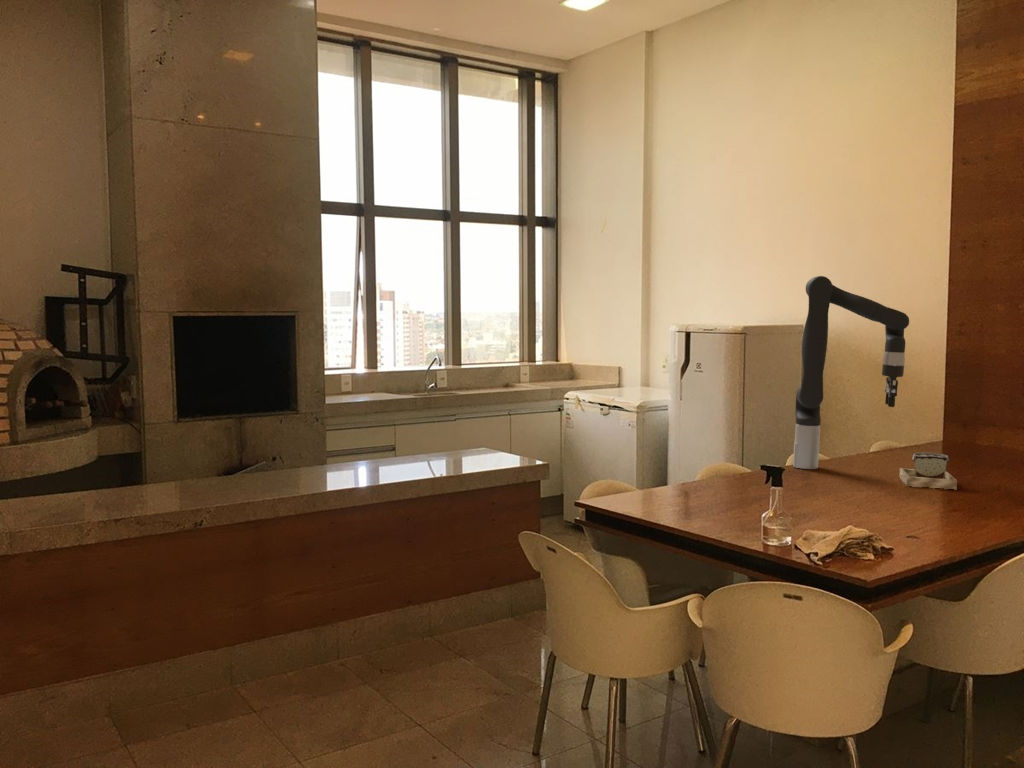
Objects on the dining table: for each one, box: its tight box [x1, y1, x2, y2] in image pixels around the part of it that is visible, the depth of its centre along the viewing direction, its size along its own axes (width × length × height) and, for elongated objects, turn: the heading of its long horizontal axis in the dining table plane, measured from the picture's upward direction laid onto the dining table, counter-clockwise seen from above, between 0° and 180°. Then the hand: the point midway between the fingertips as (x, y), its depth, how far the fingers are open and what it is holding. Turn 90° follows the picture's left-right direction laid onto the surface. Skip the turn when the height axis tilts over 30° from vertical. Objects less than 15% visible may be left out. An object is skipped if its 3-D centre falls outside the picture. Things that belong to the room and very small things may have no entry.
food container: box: [911, 451, 950, 479], centre depth 295 cm, size 12×6×10 cm, turn 83°
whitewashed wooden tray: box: [899, 467, 958, 491], centre depth 295 cm, size 16×16×4 cm
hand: (889, 405), depth 312 cm, fingers open, 8 cm apart
